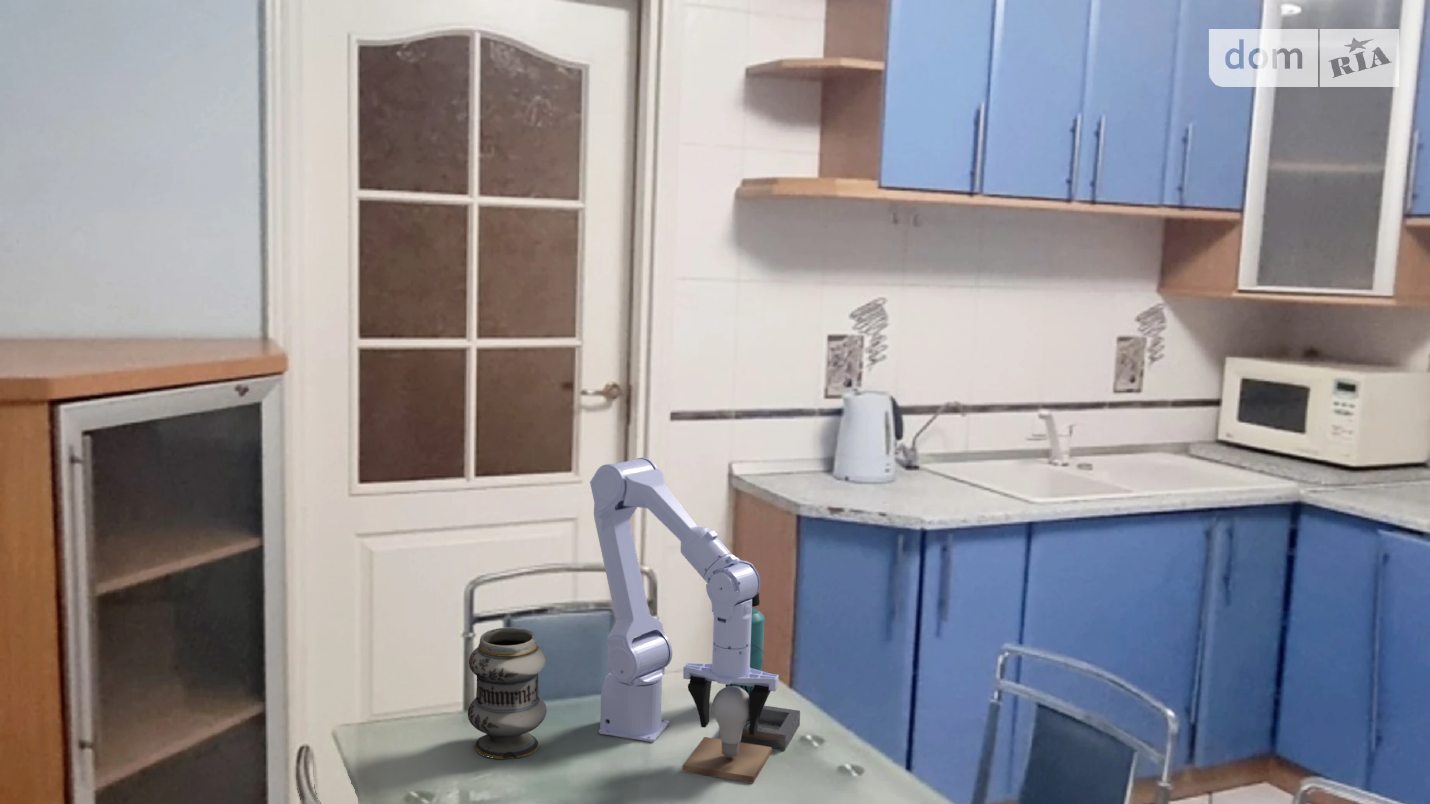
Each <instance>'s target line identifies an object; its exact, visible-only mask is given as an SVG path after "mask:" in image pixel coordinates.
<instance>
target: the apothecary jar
mask: <svg viewBox="0 0 1430 804" xmlns="http://www.w3.org/2000/svg"><path fill="white" fill-rule="evenodd" d="M546 662H547V656H546V653H545V651H544V650H543V649H542V647H540V646H539V645H538V644H537V641H536V635H535V633H534V632H532V631H531V630H529V629H527V628H523V627H512V626H511V627H510V626H509V627H507V626H506V627H498V628H494V629H490V630H487V631H486V632H483V634H481V636H480V639H479V643H478V646H477V647H476V648H475V649H474V650H473V651H472V652H471V654H470V656H469V659H468V666H469V669H470V671H471V672H472V673H473V674H474V675H475V676H476V689H475V690H476V692H475V694H476V695H475V698H474V699H473V700H472V701H471V703H470V704H469V706H468V709H467V718H468V721H469V723H470V724H471V725H472V726H473V727H474V728H475V729H476V730H478V731H479V732H481V733H484V735H482V736H481V737H479V738H478V739H476V741H475V743H474V750H475V751H476V750H477V751H476V752H477V753H478V754H479V753H480V754H479V755H481V754H482V755H484V756H483V757H485V756H489V757H493V758H498V759H497V760H505V759H504V758H507V759H510V757H511V758H512V757H514V758H513V759H519V758H520V757H521V758H524V757H527V756H530V755H531V754H533V753H534V752H536V751H537V750H538V748H539V744H540V743H539V740H538V739H537V738H536V736H534V735H533V734H531V733H530V732H531V731H534V730H535V729H537V728H538V727H539V726H540V725H541V724H542V723H543V722H544V720H545V719H546V716H547V711H548V710H547V705H546V702H545V701H544V699H543V698H542V697H541V696H540V693H539V673H540V672H542V671H543V670H544V668H545V666H546ZM482 755H481V756H482ZM523 756H524V757H523ZM493 758H492V759H493Z"/></svg>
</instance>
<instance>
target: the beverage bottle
mask: <svg viewBox="0 0 1430 804" xmlns="http://www.w3.org/2000/svg"><path fill="white" fill-rule="evenodd" d="M751 599H752V619H751V646H750V668H752V669H756V670H759V671H763V672H764V670H763V668H764V641H765V640H764V638H765V636H764V635H765V621H766V619H765V616H764V614H763V613H762V612H761V611H760V610H759V609H757V608H755V607H758V606H759V605H760V602H761V600H760V593H759V592H758V593H757V594H756V596H754V597H752V598H751ZM749 600H750V599H749ZM728 686H736V687H740V688H742V689H743V690H745V691H746V692H747V693H748V695H749V693H750V692H751V691H752V689H753V688H754V687H752V686H744V685H737V684H729V685H728V684H725V687H728Z"/></svg>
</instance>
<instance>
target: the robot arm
mask: <svg viewBox="0 0 1430 804" xmlns="http://www.w3.org/2000/svg"><path fill="white" fill-rule="evenodd" d="M589 484H590V488H591V494H592V499H593V504H594V505H593V517H594V523H595V529H596V533H597V537H598V542H599V546H600V551H601V556H602V560H603V566H604V571H605V575H606V579H607V584H608V588H609V593H610V597H611V603H612V606H613V612H614V617H615V621H616V622H615V623H614V625H613V627H612V629H611V631H609V632H610V633H609V634H608V636H607V638H606V640H607V647H608V650H607V651H608V652H607V659H606V660H607V666H608V669H609V671H610V672H609V673H608V674H607V675H606V676H605V678H604V680H603V683H602V686H601V690H600V691H601V693H600V723H599V724H600V726H599V727H600V728H599V729H598V734H600V735H607V736H611V737H613V736H614V737H620V738H626V739H632V740H637V741H639V740H640V741H644V742H654V741H656V739H657V738H658V737H659V736H660V735H661V733H663V731H664V730H665V729H666V728H667V727H668V726H669V724H670V721H669V720H667V719H662V693H663V692H662V689H663V687H662V686H663V675H665V671H666V669H665V668H666V667H668V665H669V664H670V663H671V661H672V658H673V647H672V643H671V642H670V639H669V638H668V637H667V635H666V633H665V631H664V627H663V623H662V622H661V621H660V620H658V618H656V617H654V616H653V615H651V614H650V609H649V604H648V600H647V596H646V595H647V594H646V591H645V586H644V583H643V581H644V580H643V577H642V572H641V567H640V563H639V558H638V555H637V554H638V553H637V548H636V546H635V540H634V536H633V530H632V526H631V522H630V521H631V518H632V516H634V513H635V511H636V510H637V509H638V508H644V509H648V510H649V511H650V512H651V513H652V514H653V515H654V517H656V518H657V519H658V521H660V523H661V524H663V526H665V528H666V529H668V530H669V531H670V532H671V533H672V534H673V535H674V536H675V537H676V538H677V540H679V541H680V554H681V555H682V556H683V557H684V558H685V559H686V561H688V563H689V565H691V566H692V568H694V570H695V572H697V573H698V575H699V576H700V577H701V578H702V579H703V581H705V582H706V584H705V590H706V593H707V596H708V599H709V600H710V602H711V612H712V613H713V628H712V629H713V631H712V633H713V634H712V659H711V663H697V662H696V663H695V662H694V663H693V662H687V663H686V664H685V665H684V666H683V670H682V671H683V674H682V677H683V680H689V683H688V684H687V689H688V692H689V693H690V696H691V698H692V700H693V701H694V704H695V707H696V709H697V713H698V716H699V717H698V718H699V722H700V728H704V729H705V728H706V727H707V726H708V725H709V723H710V717H711V716H710V715H711V713H710V712H711V711H710V707H711V706H710V699H711V698H710V697H711V689H712V682H717V684H721V685H726V684H728V685H729V684H737V685H744V686H752V687H754V688H753V689H752V691H751V692H750V693H749V700H750V722H749V724H748V726H749V734H750V735H754V734H755V733H756V731H757V727H759V723H758V722H759V718H760V715H761V712H762V709H763V707H764V706H765V705H766V701H767V700H768V697H769V695H770V694H771V692H776V691H777V690H778V688H779V676H780V675H779V674H774V673H769V672H765V671H764V670H763V671H759V670H756V669H752V668H750V646H751V619H752V608H753V607H752V599H751V598H752V597H754V596H756V594H757V593H759V592H760V589H761V577H760V575H759V573H758V571H757V569H756V568H755V566H754V565H753V563H751V562H750V561H747V560H741V559H740V558H739V557H736V556H735V555H734V554H733V553H731V551H730V550H729V549H728V548H727V547H726V545H724V543H723V542H722V541H721V540H720V539H719V538H718V536H719V535H718V533H717V532H716V531H715V530H714V529H710V528H709V527H706V526H705V527H704V526H703V527H701V526H697V524H696V522H695V521H694V520H693V518H692V517H691V516H690V515H689V513H688V512H687V511H686V510H685V508H684V506H682V505H681V503H680V502H679V501H678V499H677V497H676V496H675V495H674V494H673V493H672V491H671V490H670V489H669V487H668V486H667V484H666V483H665V474H664V472H663V471H662V470H660V469H659V468H658V467H657V465H656V463H655V462H654V461H653V460H652V459H650V458H647V457H638V458H636V459H633V460H627V461H620V462H616V463H612V464H611V463H610V464H609V463H608V464H607V463H606V464H603V465H601V466H599V467H598V468H597V469H596V471H595V473H594V474H593V476H592V478H591V480H590V481H589ZM749 599H750V600H749Z"/></svg>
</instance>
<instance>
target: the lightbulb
mask: <svg viewBox="0 0 1430 804" xmlns="http://www.w3.org/2000/svg"><path fill="white" fill-rule="evenodd" d="M711 706H712V707H711V708H712V713H713V716H714V718H715V720H716V722H717V724H718V728H719V733H720V736H719V737H720V738H719V739H721V741H722V754H723V755H725V756H726V757H727V758H733V756H736V755H737V754H738V749H739V742H740V741H741V735H742V731H743V728H744V726H745V725H747V722H749V721H748V719H749V717H750V700H749V695H748V693H747V692H746V691H745V690H743V689H742V688H740V687H736V686H728V687H726V686H725V687H723V688H721V689H720V690H719V691H718V692H716V694H715V696H714V698H713V699H712V705H711Z"/></svg>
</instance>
